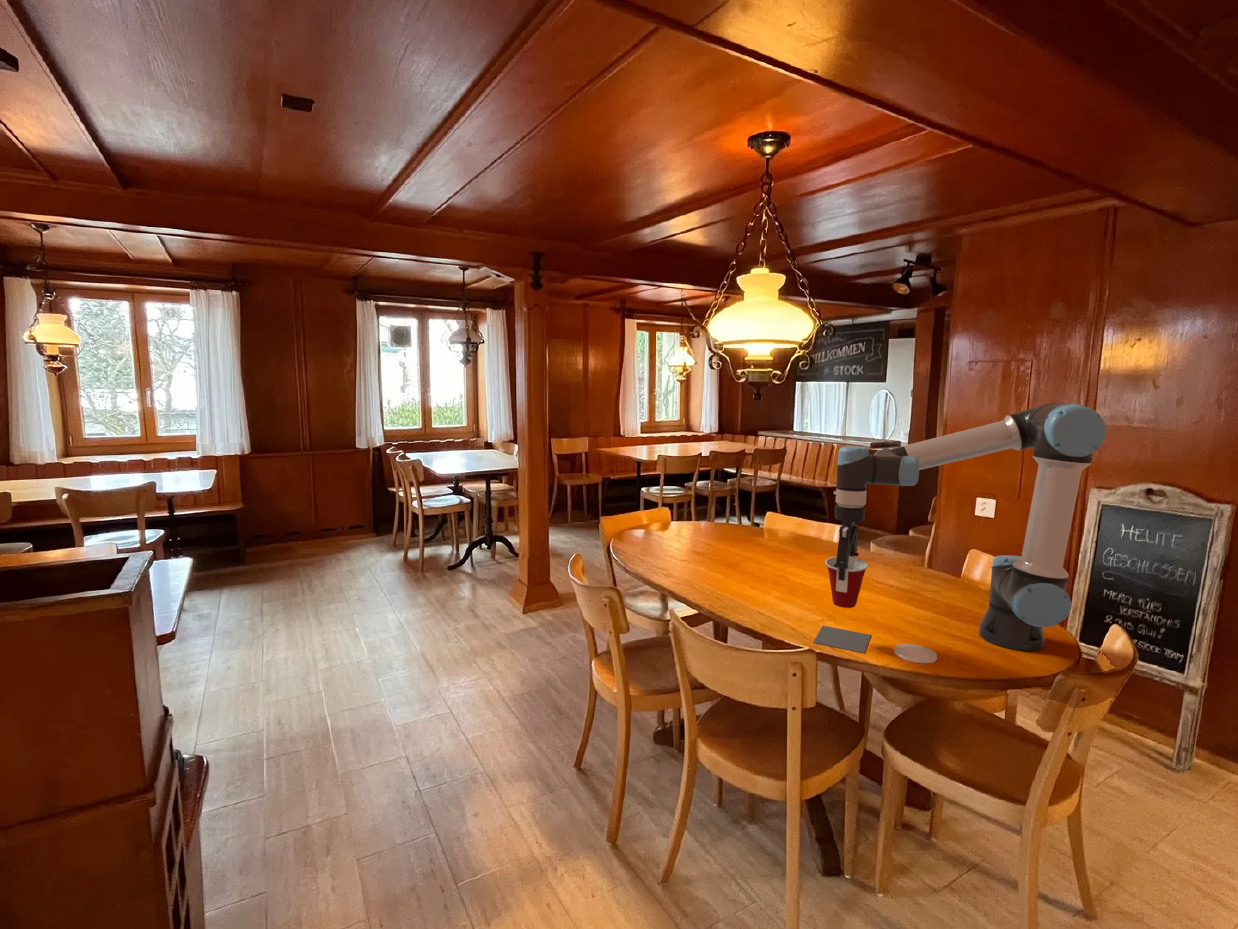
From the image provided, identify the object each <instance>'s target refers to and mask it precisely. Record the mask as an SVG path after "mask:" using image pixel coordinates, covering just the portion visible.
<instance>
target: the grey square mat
mask: <svg viewBox="0 0 1238 929" xmlns="http://www.w3.org/2000/svg"><path fill="white" fill-rule="evenodd" d="M871 637H872V634H868V633H863V632H857V631H853V630H847V629H843V628H837V627H832V626H827V625H822V626H821V628H820V629H819V632H818V633H817V635H816V636H815V638H814V640H813V642H812V643H813V644H814V645H815V644H816V645H820V646H825V647H831V648H834V649H835V648H836V649H841V650H846V651H849V650H850V651H849V652H854V653H855V652H856V653H860V654H864V655H865V654H866V651H867V648H868V646H867V645H869V643H870V640H871Z"/></svg>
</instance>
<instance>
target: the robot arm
mask: <svg viewBox="0 0 1238 929" xmlns="http://www.w3.org/2000/svg"><path fill="white" fill-rule="evenodd" d="M1106 437H1107V425H1106V421H1105V420H1104V419H1103V417H1102V416H1101V415H1100V413H1099V412H1097V411H1096V410H1095V409H1093V408H1092V407H1091V408H1090V407H1088V406H1084V405H1082V404H1078V403H1063V402H1048V403H1043V404H1040V405H1036V406H1034V407H1032V408H1029V409H1028V408H1027V409H1025V410H1022V411H1019V412H1015V413H1011V414H1008V415H1006V416H1005V417H1004V419H1003V420H1000V421H996V422H993V423H988V424H984V425H981V426H976V427H972V428H969V429H965V430H961V431H957V432H952V433H949V434H946V435H945V434H944V435H941V436H939V437H938V436H937V437H934V438H930V439H926V440H925V439H924V440H922V441H918V442H917V441H916V442H914V443H910V444H906V445H903V446H899V447H894V448H883V449H879V450H878V451H876V452H875V453H874V454H870V450H869V448H868V447H866V446H856V445H848V446H847V445H846V446H845V445H844V446H842V447H840V448H839V450H838V454H837V456H838V457H837V463H836V464H837V466H836V481H835V482H836V486H835V490H834V491H833V494H834V495H835V503H836V504H835V506H834V518H835V519H836V520H837V521H841V522H842V524H841V526H840V527H839V529H838V532H839V534H838V546H837V554H836V557H837V561H836V564H834V567H837V578H836V591H839V592H845V593H847V585H848V569H849V568H848V561H849V557H854V558H857V557H859V555H860V554H859V552H858V530H859V527H858V524H859V523H861V522H863V521H864V520H865V519H866V507H865V505H867V491H868V490H867V486H868V484H869V485H887V486H888V485H889V486H900V487H905V486H906V487H909V486H911V487H913V486H915V485H916V484H918V481H919V477H920V476H919V475H920V470H926V469H930V468H934V467H937V466H942V465H946V464H950V463H954V462H959V461H960V462H961V461H963V460H968V459H971V458H972V459H973V458H975V457H976V458H977V457H981V456H984V455H988V454H989V455H990V454H993V453H997V452H1002V451H1005V450H1010V449H1013V450H1015V451H1018V452H1019V451H1022V450H1026V449H1033V453H1032V458H1033V459H1034V460H1035V462H1036V463H1037V465H1038V467H1037V473H1036V478H1035V482H1034V483H1035V484H1034V488H1033V493H1032V498H1031V504H1030V510H1029V516H1028V519H1027V520H1028V521H1027V525H1026V531H1025V535H1024V540H1023V541H1024V542H1023V546H1022V552H1021V556H1020V555H1009V554H1008V555H1006V554H1005V555H1004V554H1003V555H995V557H994V558H993V560H992V565H991V575H990V587H989V600H988V606H987V610H986V611H985V614H984V616H983V618H982V620H981V622H980V623H979V629H978V634H980V635H979V637H981V638H982V639H983V638H984V640H985V641H987V642H989V643H992V644H993V645H996V644H997V645H996V646H999V645H1000V647H1002V648H1007V649H1011V650H1017V651H1038V650H1042V649H1043V648H1044V647H1045V640H1046V638H1045V632H1044V630H1043V628H1050V627H1054V626H1056V625H1058V624H1061V623H1062V622H1063V621H1065V620H1066V619H1067V617H1068V616H1069V614H1070V613H1071V609H1072V602H1071V599H1070V598H1071V597H1070V596H1069V594H1068V593H1067V588H1068V581H1069V577H1070V574H1069V572H1068V571H1067V570H1066V569H1065V568H1064V564H1065V556H1066V552H1067V549H1068V542H1069V537H1070V531H1071V526H1072V522H1073V517H1074V512H1075V508H1076V507H1075V506H1076V501H1077V497H1078V492H1079V486H1080V480H1081V477H1082V472H1083V470H1084V469H1086V468H1087V467H1090V466H1091V465H1092V462H1093V457H1094V453H1095V452H1096V451H1097V450H1098V449H1100V448H1101V447H1102V445H1103V444H1104V442H1105V440H1106ZM840 562H843V563H840Z"/></svg>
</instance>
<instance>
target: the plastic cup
mask: <svg viewBox="0 0 1238 929" xmlns="http://www.w3.org/2000/svg"><path fill="white" fill-rule="evenodd" d="M854 557H855V556H854ZM854 557H849V561H848V568H849V569H848V585H847V593H845V592H839V591H836V578H837V567H834V564H836V561H837V556H832V557H829V558H827V559H825V561H824V562H825V565H826V566H827V570H828V576H829V584H830V591H831V596H832V597H831V598H832V603H833V605H835V606H836V607H839V608H843V609H852V608H855V607H856V605H857V603H858V597H859V595H860V592H861V588H862V584H863V579H864V576H865V572H866V570H867V568H868V567H869V564H868V562H867V561H865V560H864V559H862V558H858V557H856V558H854ZM840 563H843V562H840Z"/></svg>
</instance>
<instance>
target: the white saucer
mask: <svg viewBox="0 0 1238 929" xmlns="http://www.w3.org/2000/svg"><path fill="white" fill-rule="evenodd" d="M894 653H895V654H894ZM893 654H894V655H895V656H896V655H897V656H899V657H900V658H902V659H904V660H903V661H905V660H907V661H906V662H908V661H909V663H911V662H916V663H926V664H925V665H928V664H927V663H932V662H934V663H935V661H936V660H937V661H938V655H937V653H936V652H935V651H934V650H932V649H930V648H928V647H927V646H924V645H923V646H922V645H918V644H914V643H899V644H897V645H895V646H894V648H893ZM897 656H896V657H897ZM899 657H898V658H899ZM900 658H899V659H900ZM902 659H901V660H902ZM937 661H936V662H937ZM916 663H915V664H916ZM932 664H933V663H932Z"/></svg>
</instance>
